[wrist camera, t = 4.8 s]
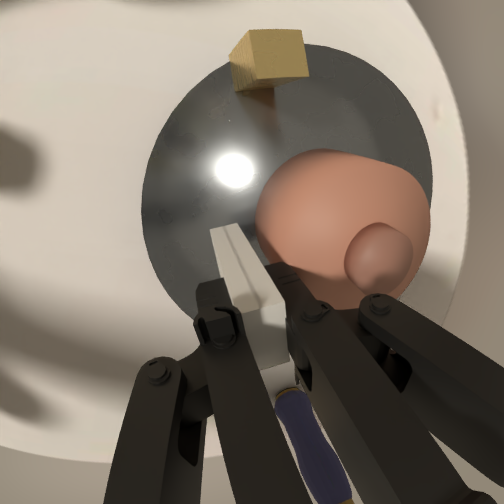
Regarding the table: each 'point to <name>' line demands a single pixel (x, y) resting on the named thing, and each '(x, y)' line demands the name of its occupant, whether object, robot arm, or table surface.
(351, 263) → the cover
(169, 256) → the turntable
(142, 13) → the table surface
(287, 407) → the rubber mallet
